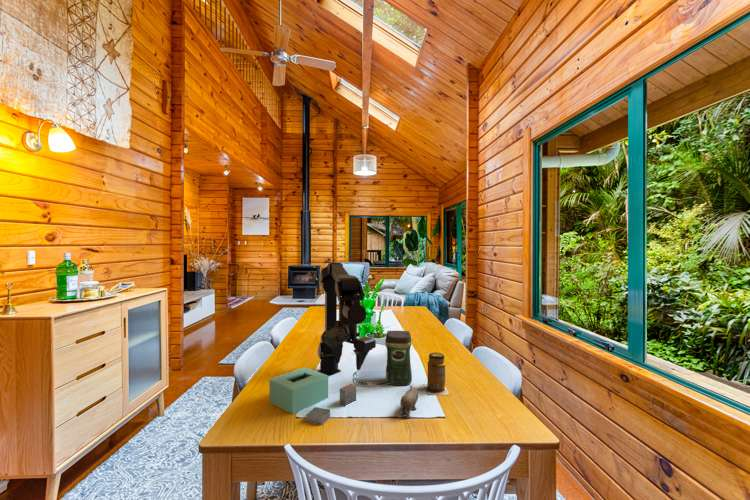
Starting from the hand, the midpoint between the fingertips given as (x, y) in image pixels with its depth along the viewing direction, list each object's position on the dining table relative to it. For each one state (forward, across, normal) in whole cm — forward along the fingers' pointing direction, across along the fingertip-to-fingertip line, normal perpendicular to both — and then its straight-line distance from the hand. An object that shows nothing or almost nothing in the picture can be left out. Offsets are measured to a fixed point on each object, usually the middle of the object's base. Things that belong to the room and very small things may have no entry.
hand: (347, 366), depth 111 cm
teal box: (+12, -13, -9) cm, 19 cm away
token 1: (+12, +1, -13) cm, 18 cm away
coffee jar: (+12, +2, +24) cm, 27 cm away
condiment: (+12, +16, +27) cm, 34 cm away
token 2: (+12, 0, 0) cm, 12 cm away
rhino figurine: (+12, +17, +10) cm, 23 cm away
